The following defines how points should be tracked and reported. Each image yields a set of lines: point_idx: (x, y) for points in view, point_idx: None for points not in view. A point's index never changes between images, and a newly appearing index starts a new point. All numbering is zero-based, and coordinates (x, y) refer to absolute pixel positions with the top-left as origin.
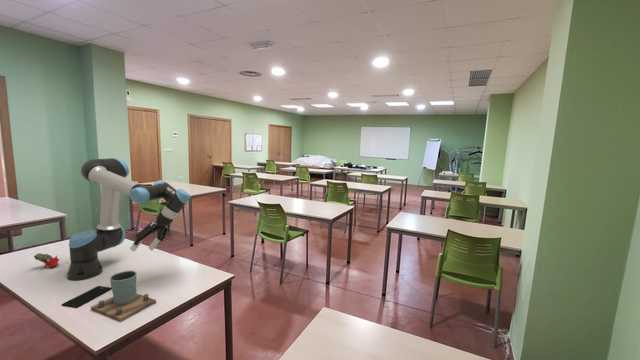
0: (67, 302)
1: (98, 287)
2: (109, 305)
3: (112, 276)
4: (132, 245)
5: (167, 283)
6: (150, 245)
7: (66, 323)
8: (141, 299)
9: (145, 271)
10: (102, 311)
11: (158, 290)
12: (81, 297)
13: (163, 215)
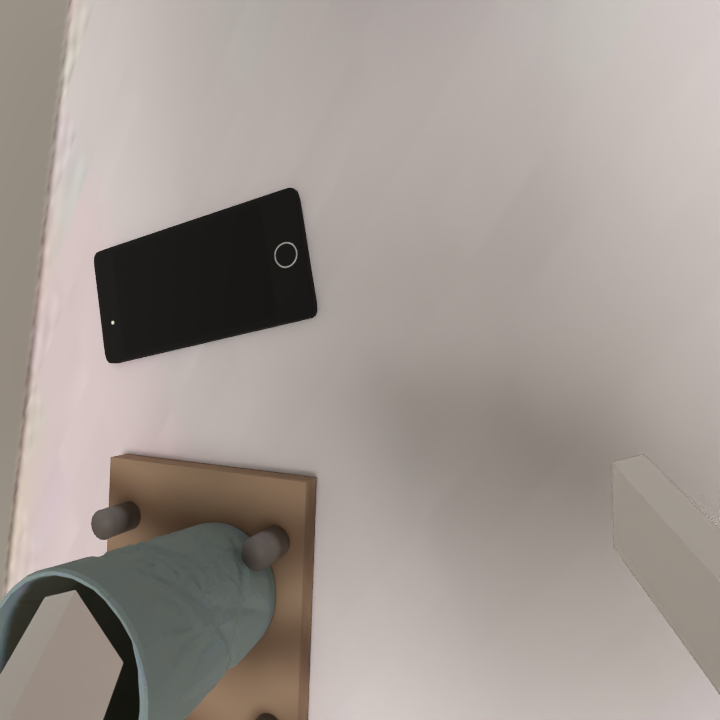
0: (113, 261)
1: (278, 216)
2: None
3: (33, 581)
4: (2, 688)
5: (566, 664)
6: (657, 519)
7: (35, 462)
8: (262, 691)
9: (673, 237)
10: None
11: (437, 674)
12: (166, 268)
13: None
